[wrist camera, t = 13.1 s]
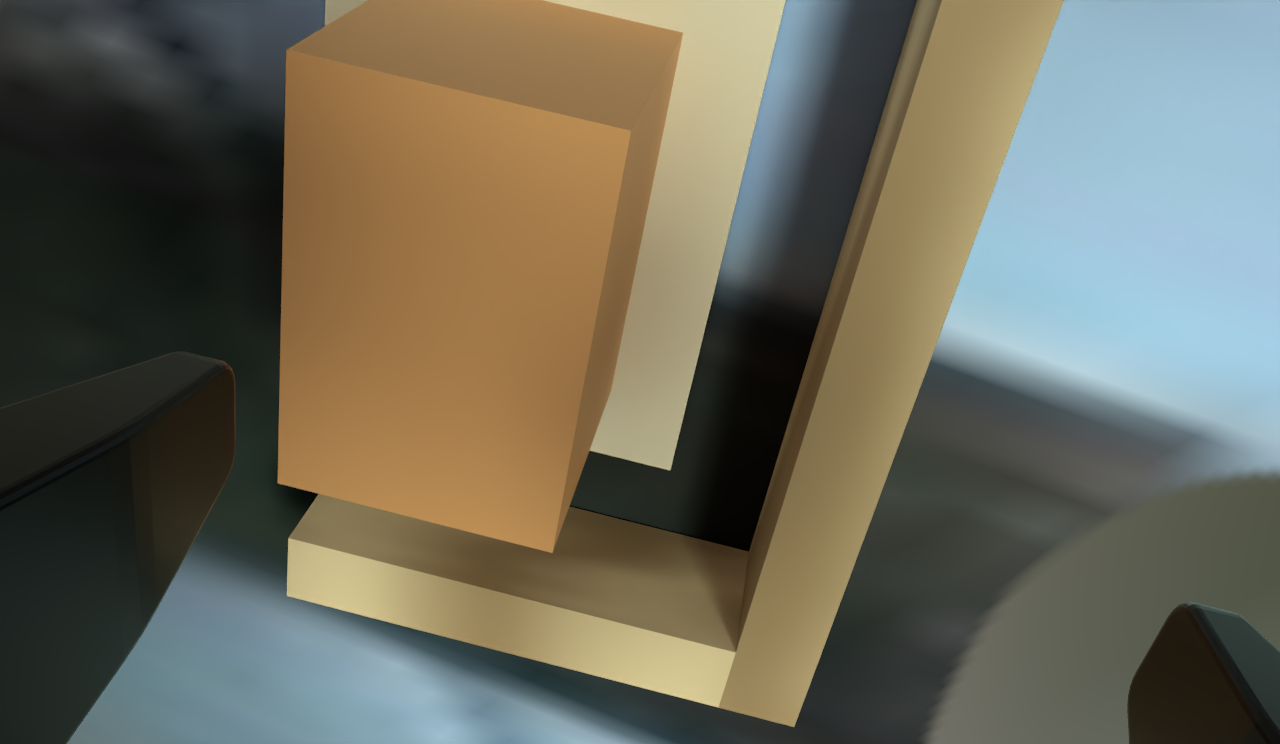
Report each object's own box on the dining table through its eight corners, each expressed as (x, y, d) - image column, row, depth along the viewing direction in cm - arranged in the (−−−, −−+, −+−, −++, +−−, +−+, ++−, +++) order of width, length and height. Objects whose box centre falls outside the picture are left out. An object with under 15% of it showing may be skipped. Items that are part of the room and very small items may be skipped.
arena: (1077, -169, 17) (1117, -145, 14) (800, 621, 25) (794, 726, 22) (394, -318, 17) (312, -322, 14) (344, 505, 25) (287, 596, 23)
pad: (796, -44, 18) (795, -41, 18) (672, 462, 23) (670, 470, 23) (338, -148, 18) (331, -146, 18) (317, 373, 24) (310, 380, 23)
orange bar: (611, 390, 22) (552, 553, 18) (388, 335, 22) (278, 483, 18) (683, 32, 19) (631, 130, 14) (416, -29, 19) (285, 49, 15)
